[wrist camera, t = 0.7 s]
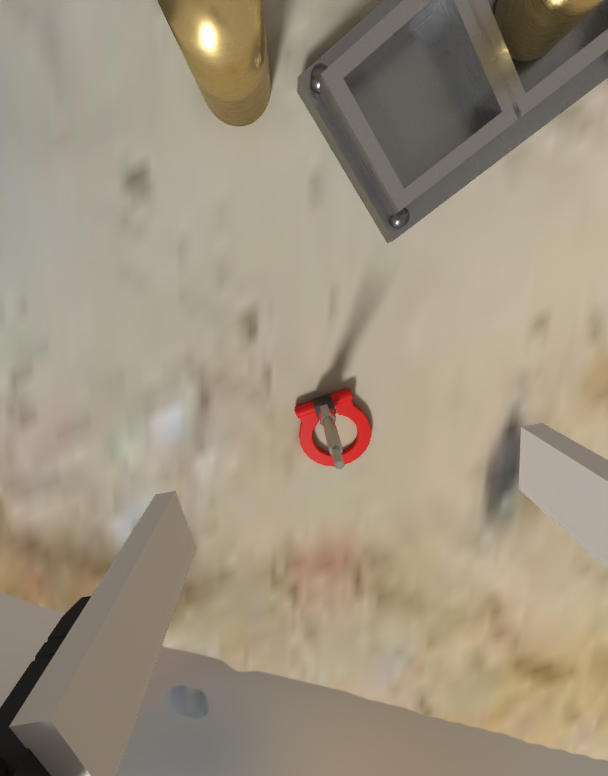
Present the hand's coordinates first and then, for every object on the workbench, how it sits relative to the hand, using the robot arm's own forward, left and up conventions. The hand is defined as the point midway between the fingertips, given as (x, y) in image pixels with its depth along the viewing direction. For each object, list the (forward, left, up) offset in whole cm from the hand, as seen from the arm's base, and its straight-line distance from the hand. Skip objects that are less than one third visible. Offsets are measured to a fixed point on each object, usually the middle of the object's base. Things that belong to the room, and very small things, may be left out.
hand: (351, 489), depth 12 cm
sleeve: (-23, +9, -24) cm, 35 cm away
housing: (-12, +25, -24) cm, 37 cm away
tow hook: (+9, -3, -25) cm, 26 cm away
